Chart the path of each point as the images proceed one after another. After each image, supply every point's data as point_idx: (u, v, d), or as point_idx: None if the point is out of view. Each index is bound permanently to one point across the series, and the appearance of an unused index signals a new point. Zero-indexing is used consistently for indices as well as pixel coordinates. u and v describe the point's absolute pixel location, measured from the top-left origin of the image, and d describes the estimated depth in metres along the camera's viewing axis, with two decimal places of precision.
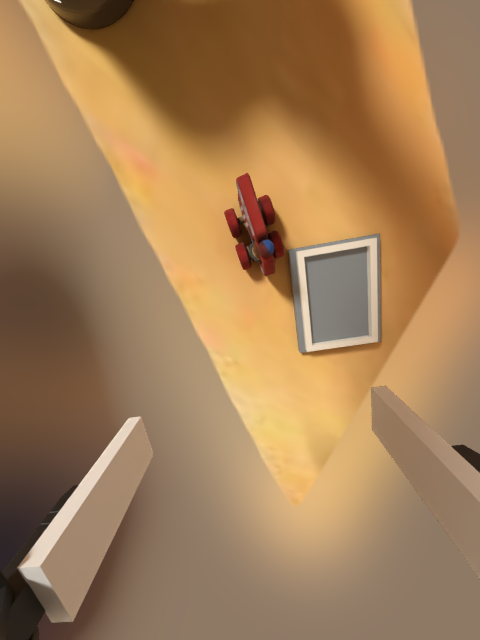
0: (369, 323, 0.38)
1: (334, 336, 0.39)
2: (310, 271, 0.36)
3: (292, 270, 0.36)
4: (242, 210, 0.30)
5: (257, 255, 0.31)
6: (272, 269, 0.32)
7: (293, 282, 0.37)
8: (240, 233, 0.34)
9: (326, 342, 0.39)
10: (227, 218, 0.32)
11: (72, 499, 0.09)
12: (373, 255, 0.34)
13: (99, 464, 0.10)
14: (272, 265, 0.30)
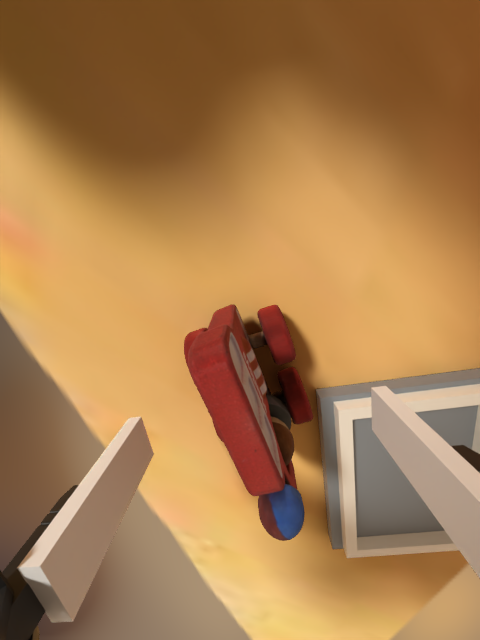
0: None
1: (395, 529, 0.22)
2: (360, 434, 0.19)
3: (325, 431, 0.19)
4: None
5: None
6: None
7: (326, 450, 0.19)
8: None
9: (382, 541, 0.21)
10: None
11: (72, 499, 0.09)
12: None
13: (99, 464, 0.10)
14: None
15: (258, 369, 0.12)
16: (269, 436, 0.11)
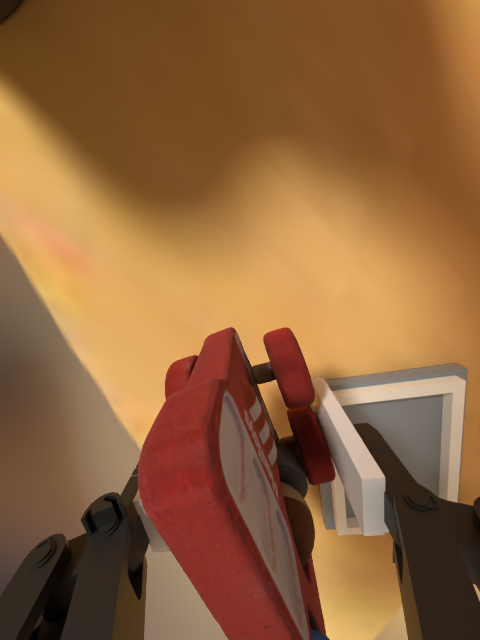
0: (442, 497, 0.23)
1: None
2: None
3: None
4: None
5: None
6: None
7: None
8: None
9: None
10: None
11: None
12: (458, 407, 0.20)
13: None
14: None
15: (266, 427, 0.08)
16: (283, 540, 0.07)
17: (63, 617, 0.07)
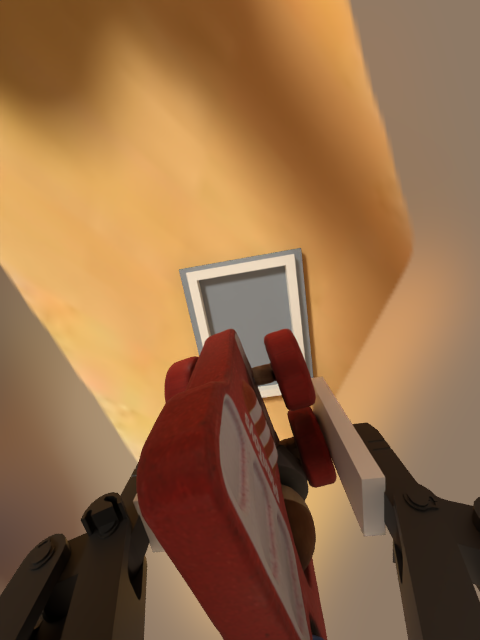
0: None
1: None
2: (211, 298, 0.27)
3: (187, 297, 0.27)
4: None
5: None
6: None
7: (190, 313, 0.27)
8: None
9: None
10: None
11: None
12: (292, 278, 0.25)
13: None
14: None
15: (266, 430, 0.08)
16: (284, 544, 0.07)
17: (63, 617, 0.07)
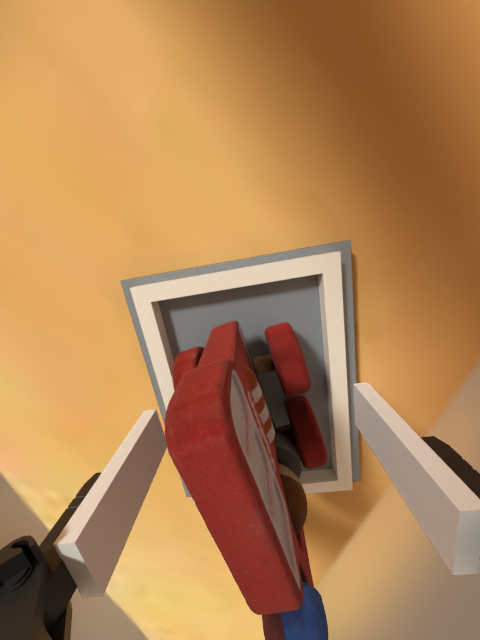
0: (333, 448, 0.16)
1: None
2: (182, 333, 0.15)
3: (138, 330, 0.15)
4: None
5: None
6: None
7: (146, 357, 0.15)
8: None
9: None
10: None
11: (98, 484, 0.09)
12: (334, 299, 0.13)
13: (120, 452, 0.10)
14: None
15: (265, 409, 0.09)
16: (279, 506, 0.08)
17: None
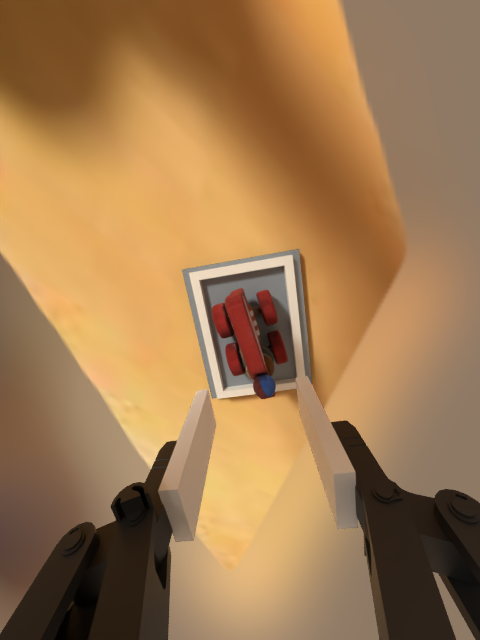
0: (295, 363, 0.29)
1: None
2: (213, 297, 0.28)
3: (189, 296, 0.28)
4: None
5: (253, 379, 0.23)
6: None
7: (193, 311, 0.28)
8: (232, 335, 0.26)
9: (242, 386, 0.30)
10: (215, 321, 0.24)
11: (178, 447, 0.10)
12: (290, 278, 0.26)
13: (188, 423, 0.12)
14: None
15: (255, 321, 0.22)
16: None
17: (93, 602, 0.07)
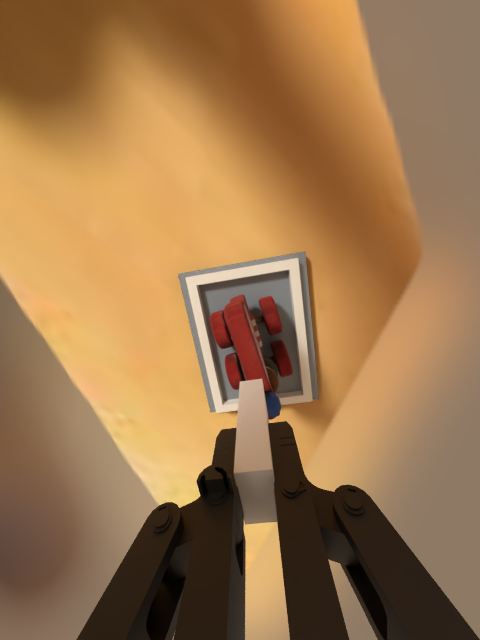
0: (300, 375, 0.27)
1: None
2: (211, 304, 0.26)
3: (186, 302, 0.26)
4: None
5: None
6: None
7: (190, 319, 0.26)
8: (232, 345, 0.24)
9: None
10: (213, 330, 0.22)
11: (240, 433, 0.10)
12: (296, 283, 0.24)
13: (243, 411, 0.12)
14: None
15: (258, 332, 0.20)
16: None
17: (182, 579, 0.07)
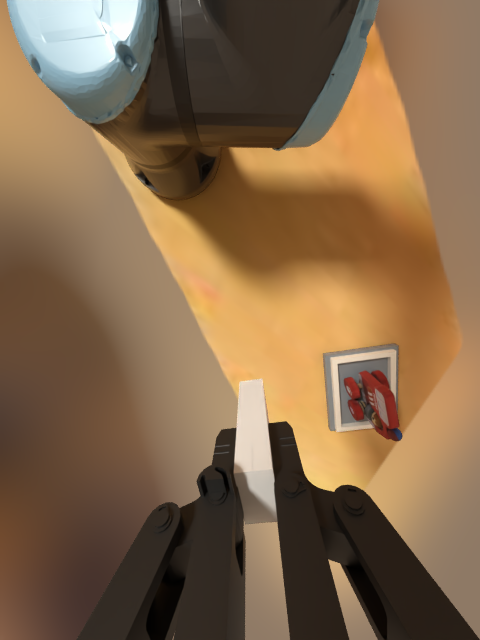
0: None
1: None
2: (341, 371, 0.45)
3: (326, 370, 0.45)
4: (371, 395, 0.39)
5: (379, 426, 0.40)
6: None
7: (327, 379, 0.46)
8: (358, 397, 0.43)
9: (352, 424, 0.48)
10: (352, 391, 0.42)
11: (240, 433, 0.10)
12: (393, 363, 0.43)
13: (243, 412, 0.12)
14: None
15: None
16: None
17: (182, 578, 0.07)
